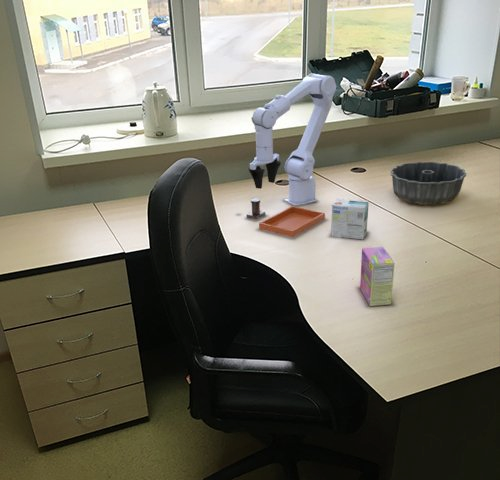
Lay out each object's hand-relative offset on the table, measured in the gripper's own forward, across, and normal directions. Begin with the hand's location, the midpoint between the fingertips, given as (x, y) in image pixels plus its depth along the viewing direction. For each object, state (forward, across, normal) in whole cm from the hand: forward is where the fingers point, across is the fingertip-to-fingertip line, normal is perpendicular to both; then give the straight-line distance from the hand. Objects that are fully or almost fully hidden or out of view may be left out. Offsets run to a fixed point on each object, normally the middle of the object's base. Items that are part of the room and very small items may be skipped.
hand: (265, 185), depth 206 cm
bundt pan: (+10, -42, +42) cm, 60 cm away
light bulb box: (+10, +4, +36) cm, 37 cm away
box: (+10, +37, +62) cm, 73 cm away
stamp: (+9, +7, +1) cm, 12 cm away
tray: (+9, +6, +16) cm, 19 cm away
